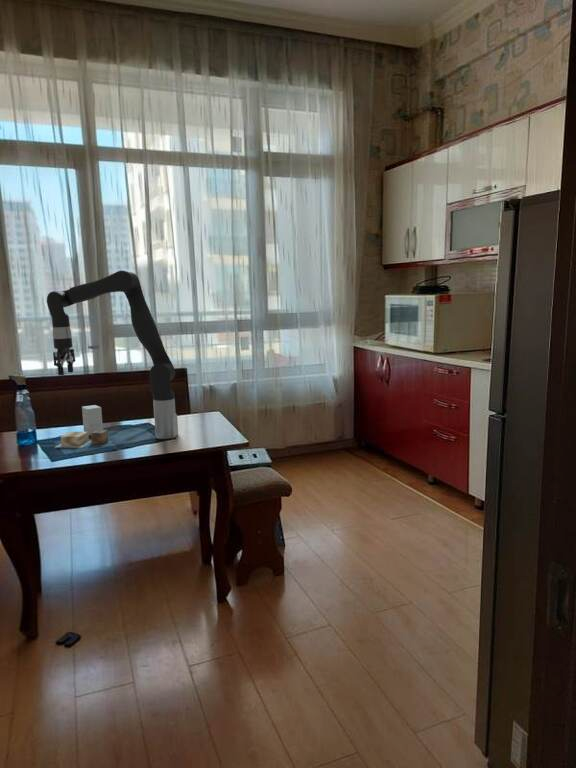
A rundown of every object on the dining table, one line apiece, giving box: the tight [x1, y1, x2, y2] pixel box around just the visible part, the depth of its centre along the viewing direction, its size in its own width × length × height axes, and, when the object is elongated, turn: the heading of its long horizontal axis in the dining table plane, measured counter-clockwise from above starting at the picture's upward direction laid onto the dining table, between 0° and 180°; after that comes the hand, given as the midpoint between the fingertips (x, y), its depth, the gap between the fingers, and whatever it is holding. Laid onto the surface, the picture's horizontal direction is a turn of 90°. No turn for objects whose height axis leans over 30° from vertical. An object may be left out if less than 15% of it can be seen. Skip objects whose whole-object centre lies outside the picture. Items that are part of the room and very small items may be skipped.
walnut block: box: [90, 429, 109, 445], centre depth 218 cm, size 5×5×6 cm
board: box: [55, 438, 92, 449], centre depth 218 cm, size 12×12×1 cm
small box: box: [81, 404, 104, 436], centre depth 234 cm, size 8×6×13 cm
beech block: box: [60, 431, 90, 446], centre depth 217 cm, size 8×8×4 cm
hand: (66, 373), depth 229 cm, fingers open, 8 cm apart
